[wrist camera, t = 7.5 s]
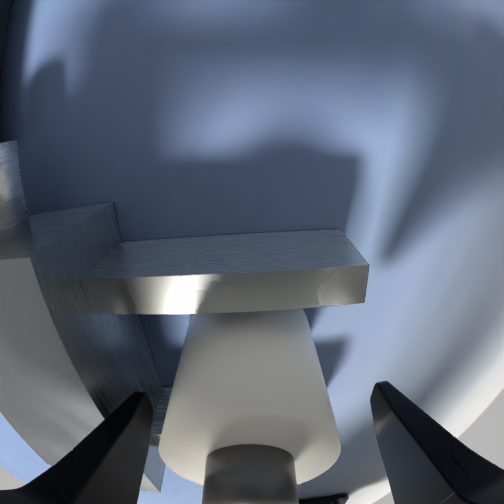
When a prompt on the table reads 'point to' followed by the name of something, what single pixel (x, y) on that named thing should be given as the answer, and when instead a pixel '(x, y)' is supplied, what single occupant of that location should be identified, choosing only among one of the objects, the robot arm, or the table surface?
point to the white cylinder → (249, 408)
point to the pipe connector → (3, 23)
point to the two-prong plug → (130, 307)
